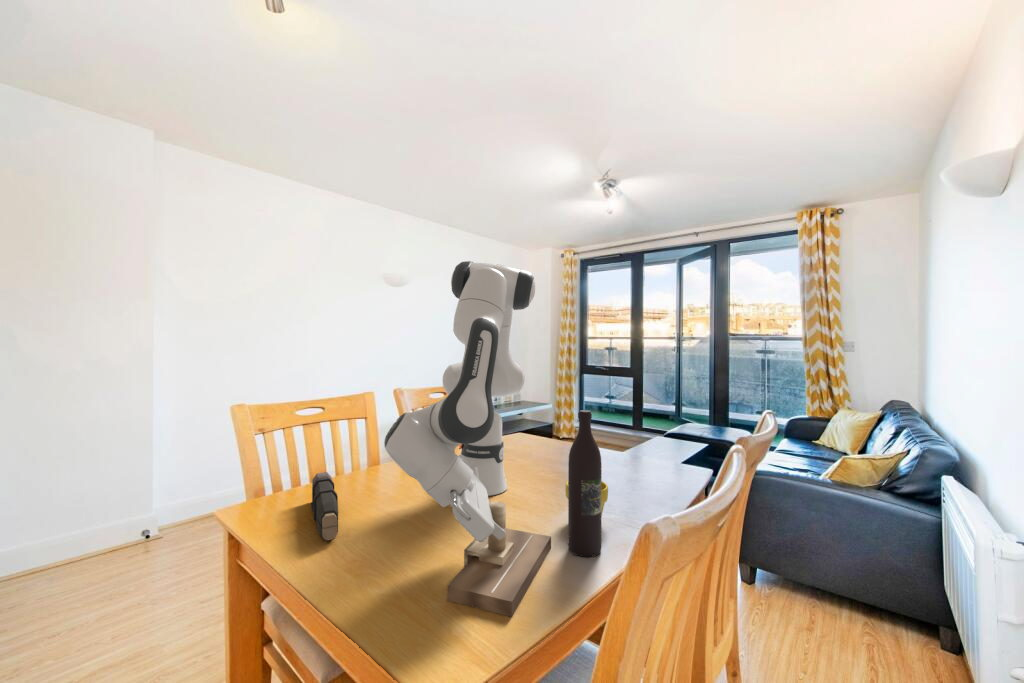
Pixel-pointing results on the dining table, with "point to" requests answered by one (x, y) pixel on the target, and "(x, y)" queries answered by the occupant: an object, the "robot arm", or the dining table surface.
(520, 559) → the board
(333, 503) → the dark grey segmented bar
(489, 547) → the beige peg stand
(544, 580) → the dining table surface
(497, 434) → the robot arm
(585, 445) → the wine bottle
